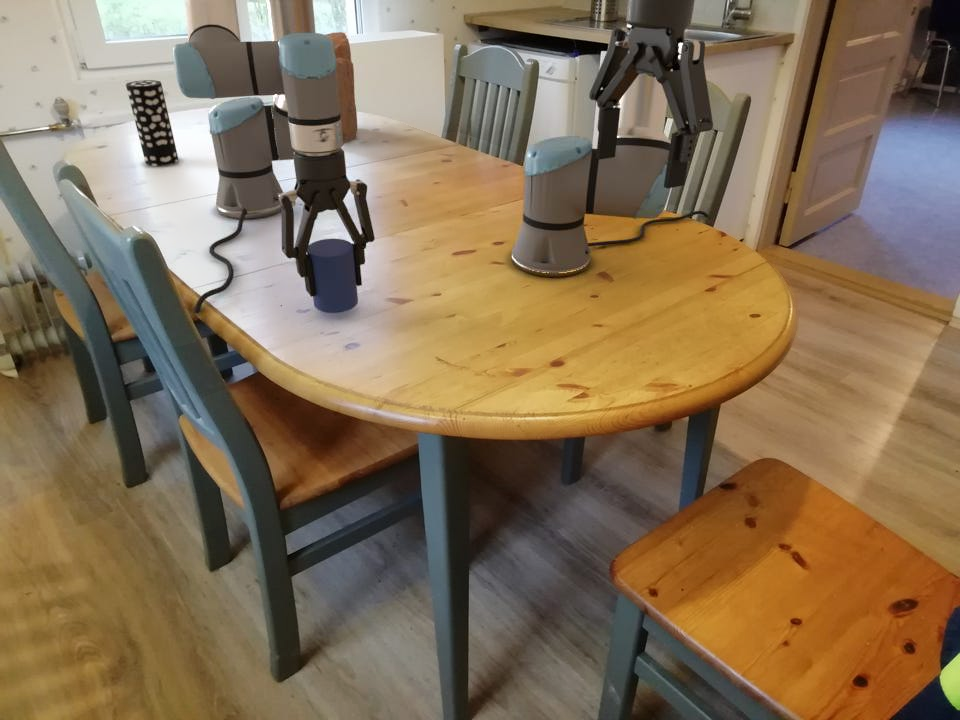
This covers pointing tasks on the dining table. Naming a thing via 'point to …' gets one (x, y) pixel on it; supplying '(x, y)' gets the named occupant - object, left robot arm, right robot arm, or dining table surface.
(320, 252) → the can
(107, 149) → the dining table surface
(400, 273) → the dining table surface
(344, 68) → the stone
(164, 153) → the black white spotted cylinder
